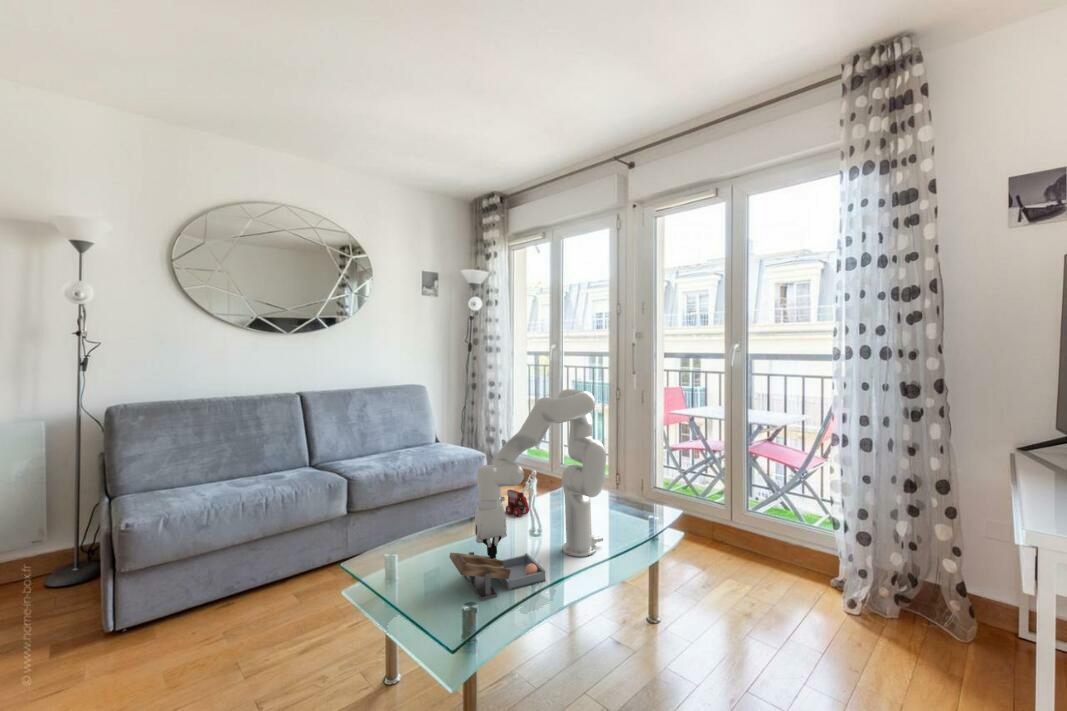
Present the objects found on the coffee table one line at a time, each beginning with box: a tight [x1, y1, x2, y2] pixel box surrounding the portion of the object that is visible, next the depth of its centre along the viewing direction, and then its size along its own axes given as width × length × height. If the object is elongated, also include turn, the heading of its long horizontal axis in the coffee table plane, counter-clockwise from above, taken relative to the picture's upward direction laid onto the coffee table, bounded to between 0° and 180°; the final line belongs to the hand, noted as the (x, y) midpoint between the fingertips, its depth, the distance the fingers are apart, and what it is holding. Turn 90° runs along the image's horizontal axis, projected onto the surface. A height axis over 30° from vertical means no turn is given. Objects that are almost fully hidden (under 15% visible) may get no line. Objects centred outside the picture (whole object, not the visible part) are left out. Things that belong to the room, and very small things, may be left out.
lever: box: [449, 552, 511, 579], centre depth 152 cm, size 16×15×4 cm
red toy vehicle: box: [505, 489, 530, 518], centre depth 218 cm, size 7×12×10 cm, turn 47°
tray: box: [498, 552, 547, 591], centre depth 157 cm, size 13×15×4 cm
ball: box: [525, 563, 537, 575], centre depth 156 cm, size 4×4×4 cm
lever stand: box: [463, 551, 498, 602], centre depth 152 cm, size 5×19×8 cm, turn 24°
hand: (492, 556), depth 159 cm, fingers closed
